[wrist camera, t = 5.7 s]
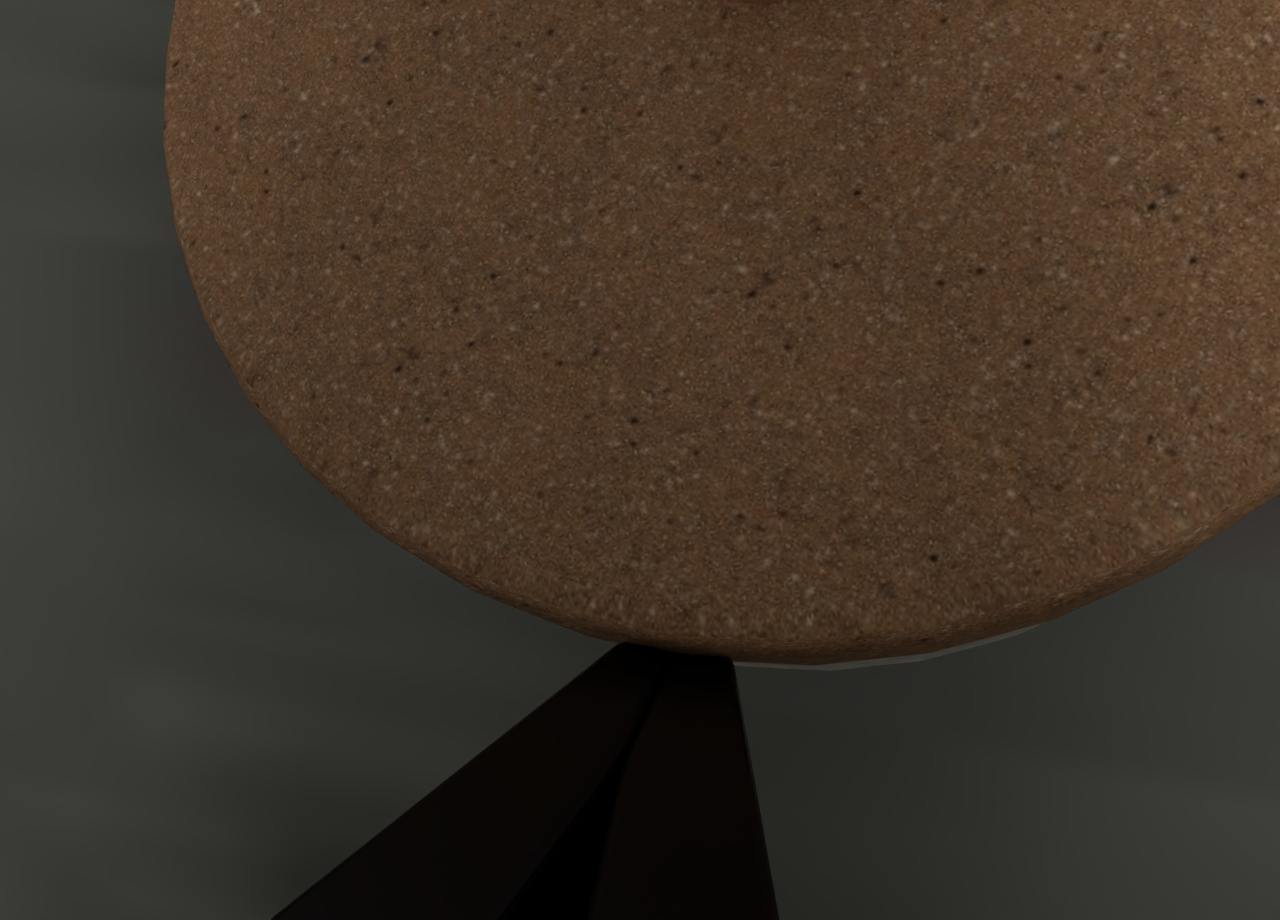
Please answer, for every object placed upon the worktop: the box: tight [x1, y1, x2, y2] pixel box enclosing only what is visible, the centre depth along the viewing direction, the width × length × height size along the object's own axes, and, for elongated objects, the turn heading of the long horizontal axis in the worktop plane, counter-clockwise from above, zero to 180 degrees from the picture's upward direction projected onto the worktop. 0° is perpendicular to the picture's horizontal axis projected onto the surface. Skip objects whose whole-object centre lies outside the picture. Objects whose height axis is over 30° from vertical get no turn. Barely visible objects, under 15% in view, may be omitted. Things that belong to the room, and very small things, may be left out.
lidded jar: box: [163, 0, 1280, 671], centre depth 12 cm, size 11×11×9 cm
